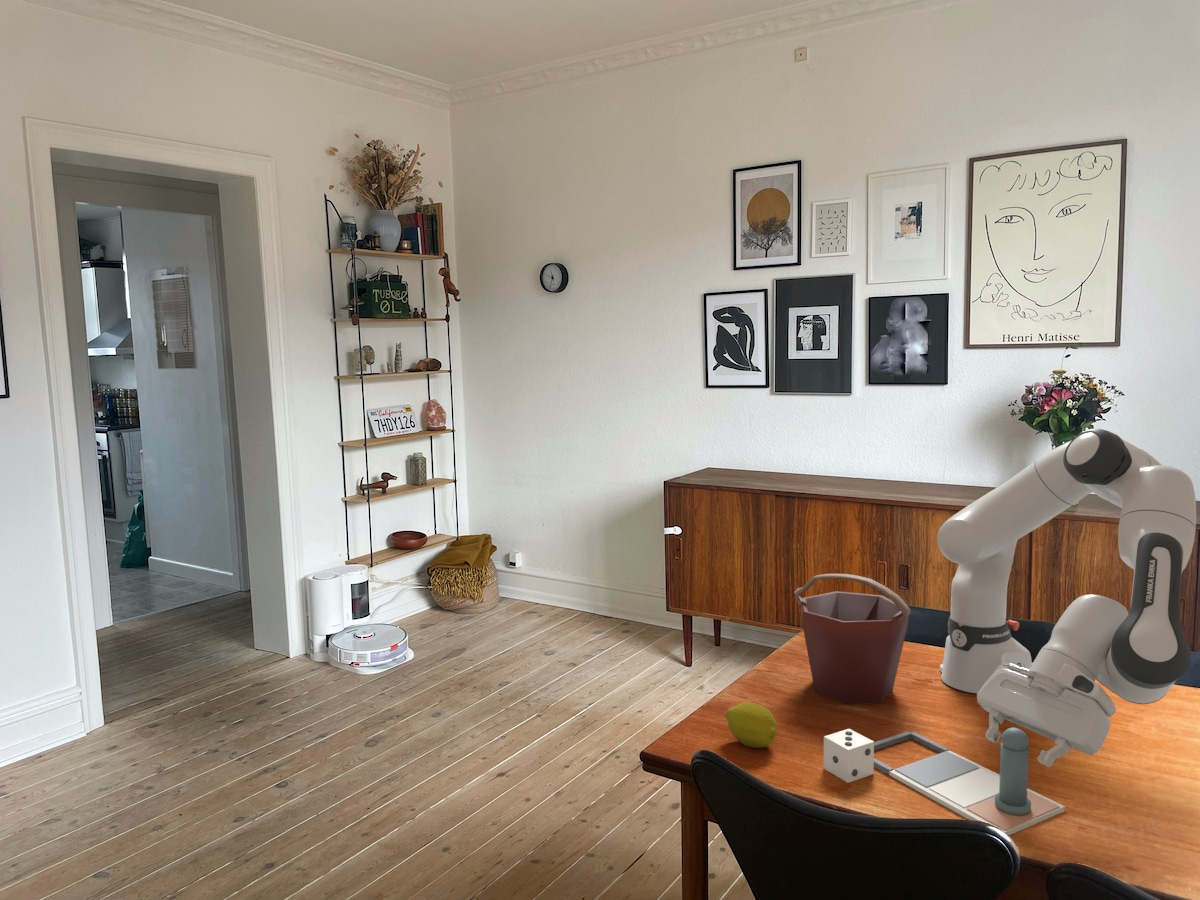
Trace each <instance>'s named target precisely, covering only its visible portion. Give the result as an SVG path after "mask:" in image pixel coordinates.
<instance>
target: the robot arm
mask: <svg viewBox="0 0 1200 900" xmlns="http://www.w3.org/2000/svg"><path fill="white" fill-rule="evenodd" d="M1092 493H1093V494H1095V495H1097V497H1099V498H1100V499H1103V500H1104V501H1107V502H1109V503H1111V504H1113V505H1115V506H1116V507H1119V508H1120V509H1121V511H1120V516H1119V523H1118V533H1117V534H1118V535H1117V541H1118V542H1117V543H1118V545H1117V546H1118V552H1119V557H1120V559H1121V560H1122V562H1124V564H1126V565H1127V566H1128V567H1129V568H1131V569H1132V570H1133V580H1132V588H1131V589H1132V590H1131V597H1130V598H1131V599H1130V609H1129V611H1128V609H1127V607H1125V606H1124V605H1123V604H1122V603H1121V602H1119V601H1118V600H1115V599H1114V598H1111V597H1110V596H1109V597H1108V596H1105V595H1101V594H1083V595H1080V596H1079V597H1077V598H1076V599H1075V600H1073V601H1072V602H1071V603H1070V604H1069V606H1067V608H1066V609H1065V611H1064V612H1063V613H1062V614H1061V617H1059V619H1058V620H1057V622H1056V624H1055V625H1054V627H1053V629H1052V631H1051V635H1050V638H1049V640H1048V642H1047V643H1046V644H1045V645H1044V646H1042V647H1041V649H1040V650H1039V652H1038V654H1037V655H1036V657H1035V658H1034V660H1033V662H1032V656H1031V652H1030V651H1029V650H1028V649H1027V648H1026V647H1025V646H1023V645H1022V643H1020V642H1019V641H1018V640H1016V639H1015V638H1014V637H1012V634H1011V630H1012V631H1018V630H1019V628H1020V622H1019V621H1016V620H1012V619H1008V620H1007V619H1006V618H1007V597H1008V584H1009V579H1010V575H1011V570H1012V566H1013V562H1014V557H1015V552H1016V548H1017V544H1018V541H1019V539H1021V538H1023V537H1024V536H1026V535H1028V534H1029V533H1031V532H1033V531H1034V530H1036V529H1037V528H1040V527H1042V526H1043V525H1044V524H1046V523H1047V522H1049V521H1050V520H1053V519H1054V518H1055V517H1056V516H1059V515H1060V514H1061V513H1063V512H1065V510H1067V509H1069V508H1071V507H1072V506H1074V505H1075V504H1076V503H1078V502H1080V501H1081V500H1083V499H1084V498H1085V497H1086V496H1088V495H1090V494H1092ZM1196 501H1197V500H1196V493H1195V488H1194V483H1193V481H1192V479H1191V478H1190V476H1189V475H1188V474H1187V473H1185V471H1183V470H1181V469H1179V468H1178V467H1173V466H1170V465H1164V464H1161V463H1160V462H1159V461H1158V460H1157V459H1156V458H1155V457H1153V456H1152V455H1151V454H1150V453H1148V452H1147V451H1145V450H1144V449H1142V448H1138V447H1137V446H1135V445H1134V444H1132V443H1130V442H1128V441H1127V440H1124V439H1123V438H1121V436H1119V435H1118V434H1116V433H1115V432H1111V431H1108V430H1105V429H1102V428H1097V427H1096V428H1090V429H1087V430H1086V429H1085V430H1084V431H1081V432H1080V433H1079V434H1077V435H1076V436H1075V437H1074V438H1072V439H1071V440H1069V441H1067V442H1065V443H1063V444H1061V445H1059V446H1057V447H1055V448H1053V449H1052V450H1050V451H1048V452H1047V453H1045V454H1043V455H1042V456H1040V457H1039V458H1038V459H1036V460H1035V461H1033V462H1032V463H1030V464H1029V465H1028V466H1026V467H1025V468H1024V469H1021V471H1019V472H1018V473H1016V474H1015V475H1014V476H1012V477H1011V478H1009V479H1008V480H1007V481H1005V482H1003V483H1002V484H1000V485H999V486H997V487H995V488H993V490H991V491H989V492H986V494H984V495H983V496H981V497H979V498H978V499H976V500H975V501H973V502H971V503H970V504H969V505H967V506H966V507H964V508H962V509H960V510H959V511H958V512H957V513H955V514H953V515H951V516H950V517H949V518H948V519H947V520H946V521H945V522H944V523H942V525H941V526H940V527H939V529H938V532H937V536H936V542H937V546H938V549H939V551H940V552H941V554H942V555H943V556H944V558H945V559H947V560H948V561H950V562H952V563H955V564H958V566H957V570H956V572H955V575H954V577H953V578H952V580H951V590H950V591H951V593H950V615H949V616H948V621H947V632H948V633H947V634H948V635H947V637H946V638H945V646H944V652H943V654H944V655H943V659H942V660H943V661H942V663H941V664H939V671H940V672H941V675H940V678H941V679H940V680H941V681H942V682H943V683H945V684H946V685H947V686H950V687H951V688H954V689H957V690H959V691H962V692H967V693H972V694H976V700H977V703H978V704H979V706H980V707H981V708H982V709H983V710H984V711H986V712H987V713H989V714H988V726H989V727H988V729H987V730H986V732H985V734H984V735H985V738H986V739H987V740H989V741H991V742H992V743H995V744H998V742H999V741H1000V739H1002V734H1003V733H1001V732H1000V731H999V724H1000V725H1001V724H1003V723H1004V722H1005V720H1006V721H1009V722H1010V723H1013V724H1016V725H1017V726H1020V727H1023V728H1025V729H1027V730H1030V731H1032V732H1035V733H1037V734H1038V735H1041V736H1043V737H1046V738H1048V739H1050V740H1052V741H1053V742H1054V744H1055V745H1054V746H1053V747H1051V748H1050V749H1048V750H1047V751H1046V750H1044V749H1041V751H1040V752H1039V755H1038V756H1037V759H1036V760H1037V761H1038V762H1039V764H1041V765H1042V766H1044V767H1046V768H1051V767H1052V766H1053V764H1054V762H1055V761H1056V760H1058V759H1059V758H1061V757H1063V756H1065V755H1067V754H1069V752H1070V750H1071V749H1073V750H1076V751H1078V752H1081V753H1083V754H1084V755H1085V754H1086V755H1088V756H1092V755H1094V754H1096V753H1098V752H1099V751H1100V750H1101V748H1103V747H1102V746H1103V745H1104V743H1105V741H1106V738H1107V737H1108V734H1109V731H1110V728H1111V720H1110V718H1111V717H1113V716H1114V715H1115V714H1116V712H1117V707H1116V705H1115V703H1114V702H1113V700H1112V699H1111V697H1110V696H1109V695H1108V693H1107V692H1106V691H1105V690H1104V689H1103V688H1102V687H1101V686H1100V685H1099V684H1098V683H1100V684H1101V685H1102V686H1104V687H1105V688H1107V689H1108V690H1109V691H1110V692H1112V693H1114V694H1115V695H1116V696H1118V697H1120V698H1121V699H1123V700H1125V701H1126V702H1129V703H1133V704H1135V705H1136V704H1137V705H1149V704H1153V703H1156V702H1158V701H1160V700H1161V699H1163V698H1164V697H1165V696H1166V695H1167V693H1168V692H1169V691H1170V689H1171V688H1172V687H1173V686H1174V684H1175V683H1176V681H1178V680H1179V679H1180V678H1181V677H1182V676H1183V675H1184V674H1185V673H1186V671H1187V670H1188V668H1189V666H1190V663H1191V650H1190V645H1189V642H1188V640H1187V637H1186V634H1185V632H1184V630H1183V628H1182V624H1181V620H1180V600H1181V599H1180V598H1181V584H1182V582H1181V581H1182V573H1183V571H1184V570H1185V569H1186V568H1187V565H1188V563H1189V560H1190V559H1191V555H1192V551H1193V548H1194V543H1195V536H1196V530H1197V529H1196V527H1197V502H1196ZM1095 681H1098V683H1097V682H1095Z"/></svg>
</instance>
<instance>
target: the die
mask: <svg viewBox="0 0 1200 900" xmlns="http://www.w3.org/2000/svg"><path fill="white" fill-rule="evenodd" d="M874 742H875V741H874V740H872V739H870V738H868V737H866V736H865V735H862V734H861V733H859V732H857V731H855V730H853V729H852V728H846V729H843V730H839V731H836V732H834V733H831V734H828V735H827V734H826V735H824V736H823V769H824V770H826V771H827V772H828V773H830V774H832V775H834V776H835V777H837V778H839V779H841V780H842V781H844V782H845V783H847V784H849V783H852V782H854V781H857V780H860V779H864V778H867V777H870V776H872V775H874V774H875V773H874V772H875V770H874V768H875V767H874V758H875V755H874V754H875V751H874Z"/></svg>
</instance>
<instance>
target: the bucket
mask: <svg viewBox="0 0 1200 900" xmlns="http://www.w3.org/2000/svg"><path fill="white" fill-rule="evenodd" d="M822 580H823V581H824V580H846V581H847V580H848V581H854V582H856V583H862V584H864V585H866V586H868V587H871V588H873V589H874V590H876V591H878V592H879V593H881V595H880V594H870V593H861V592H860V593H859V592H850V591H839V590H836V591H830V592H826V593H820V594H816V595H815V594H814V595H810V596H805V597H801V595H803V594H804V593H806V591H808V590H810V588H812V586H813V585H815V584H816V583H817V582H818V581H822ZM793 594H794V595H795V600H796V601H795V602H797V603H798V604H799V605H800V611H801V623H802V629H803V634H804V641H805V645H806V650H807V656H808V662H809V669H810V672H811V677H812V683H813V688H814V694H815V695H818V696H819V697H820V696H821V697H823V698H826V699H829V700H832V701H835V702H837V703H841V704H843V705H861V704H881V703H882V702H883V701H884V700H885V699H887V697H888V696H890V694H892V693H893V691H894V686H895V681H896V678H897V674H898V670H899V664H900V661H901V655H902V652H903V648H904V643H905V638H906V633H907V629H908V625H909V615H910V614H911V609H910V607H909V606H908V604H907V603H906V602H905V601H904V600H903V599H902V597H901V595H899V594H897V593H896V592H894V591H893V590H892V589H890V588H889V587H887V586H886V585H884V584H882V583H880V582H878V581H876V580H874V579H872V578H869V577H865V576H860V575H855V574H849V573H824V574H823V573H821V574H817V575H815V576H812V577H811V578H810V579H809V580H808V581H807V582H806V584H804V585H803V586H802V587H798V588H796V590H795V591H793Z"/></svg>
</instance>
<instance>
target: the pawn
mask: <svg viewBox="0 0 1200 900" xmlns="http://www.w3.org/2000/svg"><path fill="white" fill-rule="evenodd" d="M1001 734H1002V736H1001V743H1000V758H999V759H1000V760H999V761H1000V763H999V775H1000V787H999V793H997V794H996V795H995V806H996V808H997V809H998V810H1000V811H1001V812H1003V813H1006V814H1009V815H1013V816H1025V815H1028V814H1029V813H1030V812H1031V801H1030V800H1029V799H1028V798H1027V788H1028V786H1029V785H1028V782H1029V781H1028V780H1029V779H1028V778H1029V752H1030V751H1029V750H1030V749H1029V746H1028V745H1029V738H1028V735H1027V734H1026V733H1025V731H1024V730H1022V729H1020V728H1017V727H1009V728H1006V730H1004V731H1003V733H1001Z"/></svg>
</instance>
